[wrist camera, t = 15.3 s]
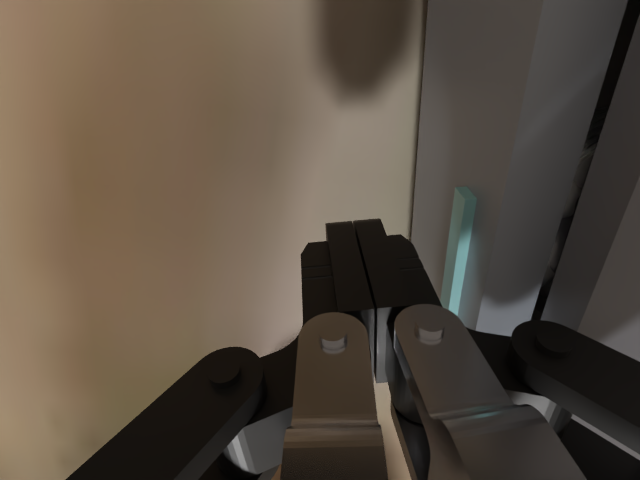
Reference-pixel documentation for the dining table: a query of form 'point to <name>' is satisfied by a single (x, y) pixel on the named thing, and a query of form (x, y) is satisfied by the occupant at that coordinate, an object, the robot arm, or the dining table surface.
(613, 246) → the housing
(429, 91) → the grey drawer box
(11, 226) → the dining table surface
